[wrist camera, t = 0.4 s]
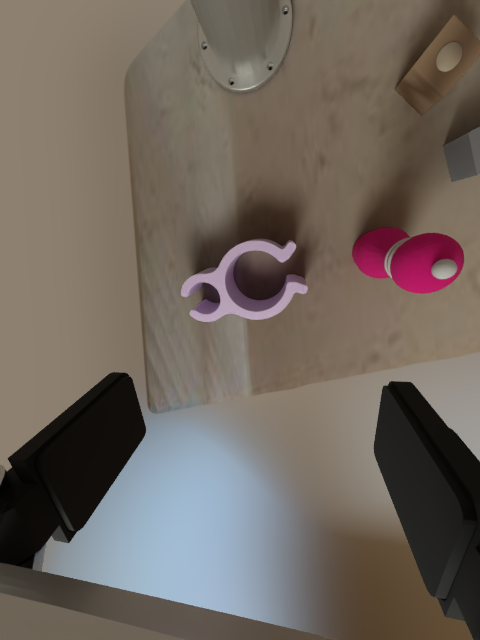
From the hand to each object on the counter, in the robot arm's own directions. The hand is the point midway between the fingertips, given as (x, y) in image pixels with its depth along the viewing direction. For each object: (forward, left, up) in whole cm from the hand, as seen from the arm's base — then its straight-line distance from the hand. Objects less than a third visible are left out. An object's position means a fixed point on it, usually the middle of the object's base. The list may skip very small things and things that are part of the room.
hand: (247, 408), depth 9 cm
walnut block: (-6, +29, -37) cm, 47 cm away
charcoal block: (+5, +29, -37) cm, 47 cm away
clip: (-2, -6, -37) cm, 37 cm away
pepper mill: (+8, +13, -37) cm, 40 cm away
